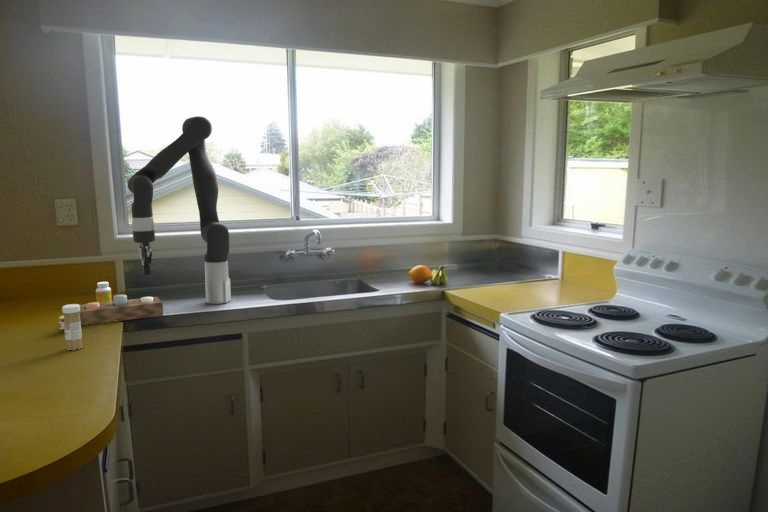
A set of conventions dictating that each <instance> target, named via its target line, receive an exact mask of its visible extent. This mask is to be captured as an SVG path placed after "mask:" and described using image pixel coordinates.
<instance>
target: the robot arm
mask: <svg viewBox="0 0 768 512" xmlns="http://www.w3.org/2000/svg"><path fill="white" fill-rule="evenodd" d="M181 130H182V133H181V135H180V136H179V137H177V138H176V139H175V140H174V141H172V142H171V143H170V144H168V145H167V146H166V147H164V148H163V149H161V150H160V151H159V152H158V153H157V154H156V155H154V157H153V158H152V159H150V161H148V163H147V164H146V165H145V166H143V167H142V168H141V169H139V170H138V171H136V172H135V173H134V174H133V175H132V176H131V177H129V179H128V181H127V189H128V191H129V192H130V193H132V194H133V202H132V203H131V217H132V218H131V228H132V229H131V231H132V238H133V239H132V240H133V243H134V244H135V243H136V244H139V246H138V252H139V259H140V262H141V265H142V273H143V275H145V276H149V275H151V264H152V257H153V256H152V255H153V251H152V246H151V245H150V243H153V242H155V241H156V233H155V231H156V230H155V221H154V217H153V215H154V213H153V206H152V205H153V199H154V198H153V197H154V186H153V184H154V183H155V182H156V181H157V180H160V179H162V178H163V177H164V176H165V175H166V174H167V173H169V171H170V170H171V169H172V168H174V166H176V164H177V163H178V162H179V161H181V159H182V158H183V157H184V156H185V155H186V154H188V158H189V164H190V165H189V166H190V173H191V177H192V183H193V188H194V189H193V191H194V193H195V198H196V203H197V207H198V213H199V214H198V215H199V225H200V227H199V228H200V236H201V238H202V240H203V241H204V242H206V253H205V254H204V256H203V257H204V259H203V260H204V278H205V279H204V282H205V302H206V303H207V304H211V305H218V304H221V305H222V304H228V303H229V302H230V301H231V298H232V297H231V296H232V294H231V292H232V291H231V278H230V277H229V258H228V257H229V254H230V234H229V233H230V232H229V229H228V227H227V226H226V225H225V224H224V223H221V222H220V219H219V216H218V209H217V206H218V205H217V203H218V199H219V197H218V196H219V184H218V183H219V182H218V178H217V174H216V170H215V168H214V166H213V164H212V162H211V159H210V157H209V155H208V152H207V148H206V147H207V146H206V139H208V138H209V137H210V136H211V134H212V132H213V131H212V130H213V126H212V123H211V121H210V120H209V119H208V118H207V117H205V116H199V115H198V116H192V117H189V118H187V119H185V120H184V122H183V123H182V129H181Z"/></svg>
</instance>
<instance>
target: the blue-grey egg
mask: <svg viewBox="0 0 768 512" xmlns="http://www.w3.org/2000/svg"><path fill="white" fill-rule="evenodd" d="M112 297H113V301H114V306H119V305H127V300H128V296H127V294H116V295H113V296H112Z"/></svg>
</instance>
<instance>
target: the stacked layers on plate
mask: <svg viewBox="0 0 768 512" xmlns="http://www.w3.org/2000/svg"><path fill="white" fill-rule="evenodd" d="M58 319H60V320H59V321H58V322H59V324H60V326H59V330H64V314H63V315H60V316H58Z"/></svg>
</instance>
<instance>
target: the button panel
mask: <svg viewBox="0 0 768 512" xmlns="http://www.w3.org/2000/svg"><path fill="white" fill-rule="evenodd" d="M152 297H153V302H146V303H141V300H140V298H133V299H127V305H119V306H114V300H112V302H103V303H100V308H92V309H86V304H87V303H85V304H79V305H80V321H81V325H83V326H89V325H88V324H91V325H97V324H96V323H99V324H103V323H102V322H107V323H109V322H108V321H115V320H120V321H129V320H138V319H145V318H152V317H153V318H154V317H160V316H164V306H163V305H164V304H163V301H162V300H161V299H160V298H159V297H158V296H152ZM120 321H119V322H120ZM115 322H116V321H115Z"/></svg>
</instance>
